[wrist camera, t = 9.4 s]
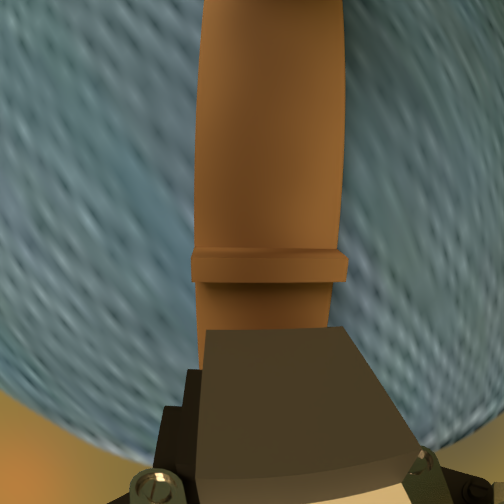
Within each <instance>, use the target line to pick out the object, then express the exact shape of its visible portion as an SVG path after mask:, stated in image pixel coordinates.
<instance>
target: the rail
mask: <svg viewBox="0 0 504 504" xmlns="http://www.w3.org/2000/svg"><path fill="white" fill-rule="evenodd" d="M344 133H345V45H344V21H343V4H342V0H204V8H203V19H202V30H201V43H200V56H199V71H198V89H197V109H196V135H195V179H194V243H195V248H194V250H193V253H192V256H191V277H192V282H195V288H196V314H197V336H198V354H199V370H202V369H203V358H204V347H205V336H206V330H263V329H299V328H322V327H327V323H328V316H329V309H330V302H331V294H332V287H333V282H346V276H347V268H348V260H349V259H348V258H347V257H346V256H345V255H344V254H342V253H341V252H340V251H339V250H338V249H337V242H338V231H339V220H340V207H341V194H342V178H343V159H344Z"/></svg>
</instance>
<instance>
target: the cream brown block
mask: <svg viewBox="0 0 504 504" xmlns="http://www.w3.org/2000/svg"><path fill="white" fill-rule="evenodd" d="M421 450H422V448H421V446H420V444H419V443H418V441H417V440H416V438H415V436H414V435H413V433H412V432H411V430H410V428H409V427H408V425H407V424H406V422H405V420H404V419H403V417H402V416H401V414H400V413H399V411H398V409H397V408H396V406H395V405H394V403H393V402H392V400H391V399H390V397H389V396H388V394H387V392H386V391H385V389H384V388H383V386H382V385H381V383H380V382H379V380H378V379H377V377H376V376H375V374H374V373H373V371H372V369H371V368H370V366H369V365H368V363H367V362H366V360H365V359H364V357H363V356H362V354H361V353H360V351H359V350H358V348H357V347H356V345H355V344H354V342H353V341H352V339H351V338H350V337H349V335H348V334H347V332H346V331H345V329H344V328H343V326H340V327H322V328H299V329H263V330H206V336H205V347H204V358H203V369H202V381H201V394H200V407H199V422H198V437H197V453H196V472H195V480H196V486H197V491H198V496H199V501H200V504H411V502H410V500H409V498H408V495H407V493H406V491H405V489H404V487H403V485H402V483H401V482H402V481H403V479H404V478H405V476H406V475H407V473H408V471H409V470H410V468H411V467H412V465H413V463H414V462H415V460H416V458H417V457H418V455H419V453H420V451H421Z"/></svg>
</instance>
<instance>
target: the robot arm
mask: <svg viewBox="0 0 504 504" xmlns="http://www.w3.org/2000/svg"><path fill="white" fill-rule="evenodd" d="M201 381H202V370H197V369H188V370H187V376H186V383H185V390H184V397H183V404H182V407H179V406H165V407H164V410H163V415H162V420H161V425H160V430H159V435H158V441H157V446H156V452H155V457H154V463H153V468H152V469H146V470H144V471H141V472H139V473H138V474H137V475H135V476H134V477H133V479H132V481H131V483H130V488H129V489H130V492H129V493H127V494H125V495H123V496H121V497H119V498H117V499H115V500H113V501H112V502H109V503H107V504H200V501H199V496H198V491H197V486H196V480H195V472H196V453H197V437H198V422H199V407H200V394H201ZM421 448H422V450H421V451H420V453H419V455H418V457H417V458H416V460H415V462H414V463H413V465H412V467H411V468H410V470H409V471H408V473H407V475H406V476H405V478H404V479H403V481H402V482H401V483H402V485H403V487H404V489H405V491H406V493H407V495H408V498H409V500H410V502H411V504H504V482H494V483H493V484H492V485H491V484H490V483H489V482H488V481H486V480H485V479H483V478H480V477H477V476H473V475H469V474H465V473H462V472H458V471H454V470H451V469H447V468H444V467H441V466H440V464H439V462H438V459H437V457H436V455H435V453H434V452H432V451H431V450H430V449H429V448H427V447H425V446H421Z"/></svg>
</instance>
